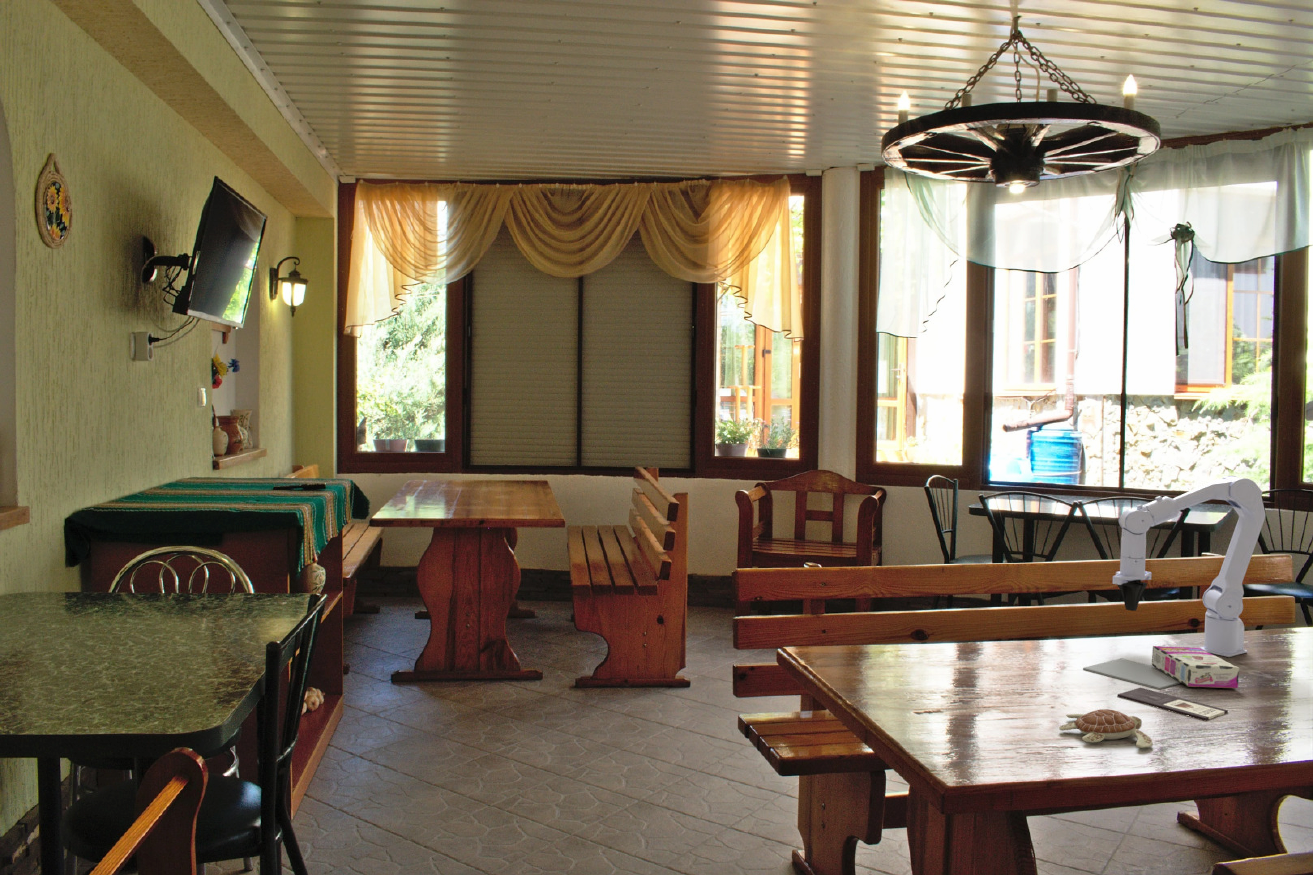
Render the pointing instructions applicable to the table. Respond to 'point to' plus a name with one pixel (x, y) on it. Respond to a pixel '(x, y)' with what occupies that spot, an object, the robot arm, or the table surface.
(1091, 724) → the decorative turtle
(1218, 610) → the robot arm
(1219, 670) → the candy bar box
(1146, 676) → the rubber mat
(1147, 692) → the chocolate bar
